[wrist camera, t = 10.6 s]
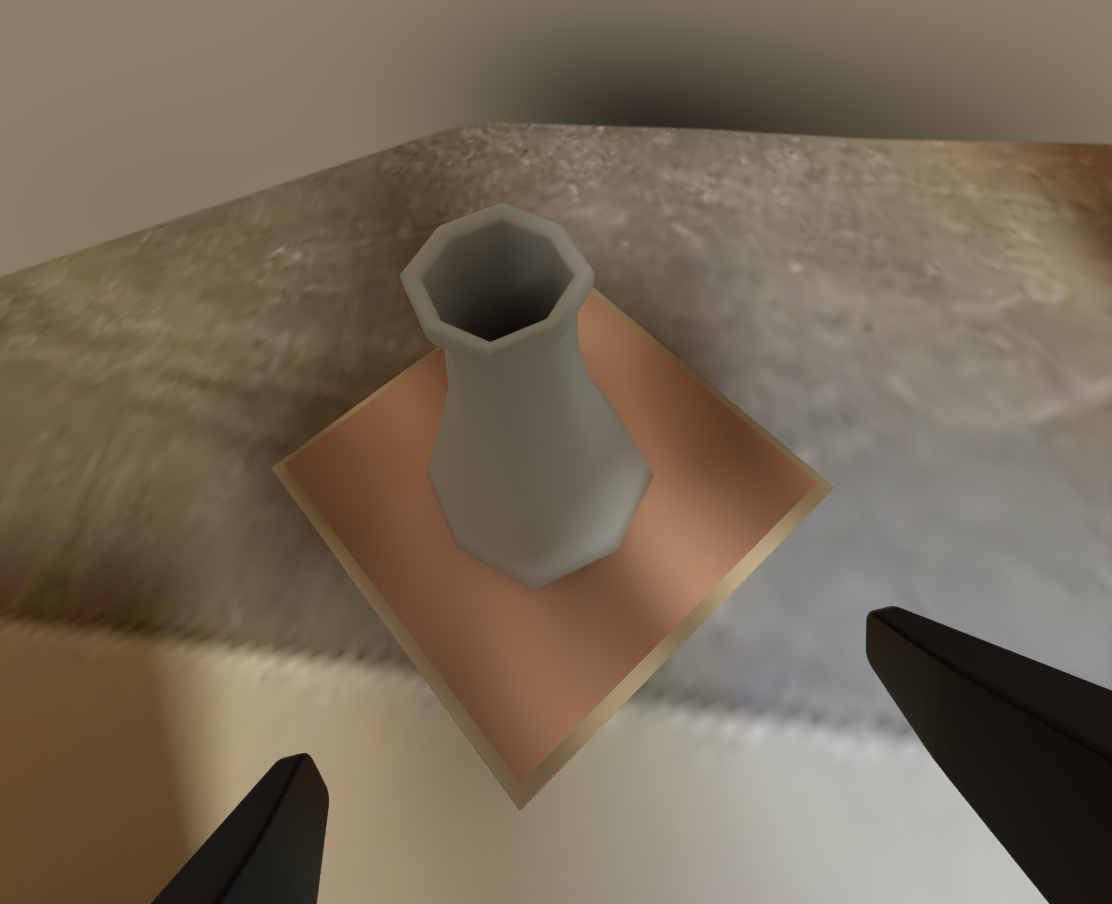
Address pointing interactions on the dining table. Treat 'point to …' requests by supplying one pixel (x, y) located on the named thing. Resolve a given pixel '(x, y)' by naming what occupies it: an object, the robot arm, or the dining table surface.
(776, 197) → the dining table surface
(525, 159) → the dining table surface
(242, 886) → the robot arm
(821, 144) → the dining table surface
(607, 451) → the flask
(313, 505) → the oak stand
